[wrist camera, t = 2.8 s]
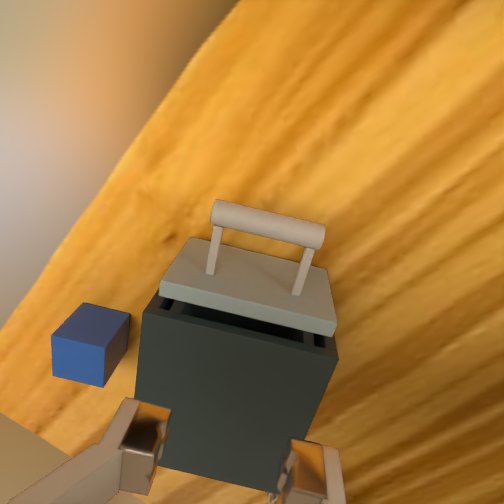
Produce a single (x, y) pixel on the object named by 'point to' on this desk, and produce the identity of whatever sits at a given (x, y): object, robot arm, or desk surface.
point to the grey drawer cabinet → (229, 393)
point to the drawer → (254, 277)
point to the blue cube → (90, 344)
